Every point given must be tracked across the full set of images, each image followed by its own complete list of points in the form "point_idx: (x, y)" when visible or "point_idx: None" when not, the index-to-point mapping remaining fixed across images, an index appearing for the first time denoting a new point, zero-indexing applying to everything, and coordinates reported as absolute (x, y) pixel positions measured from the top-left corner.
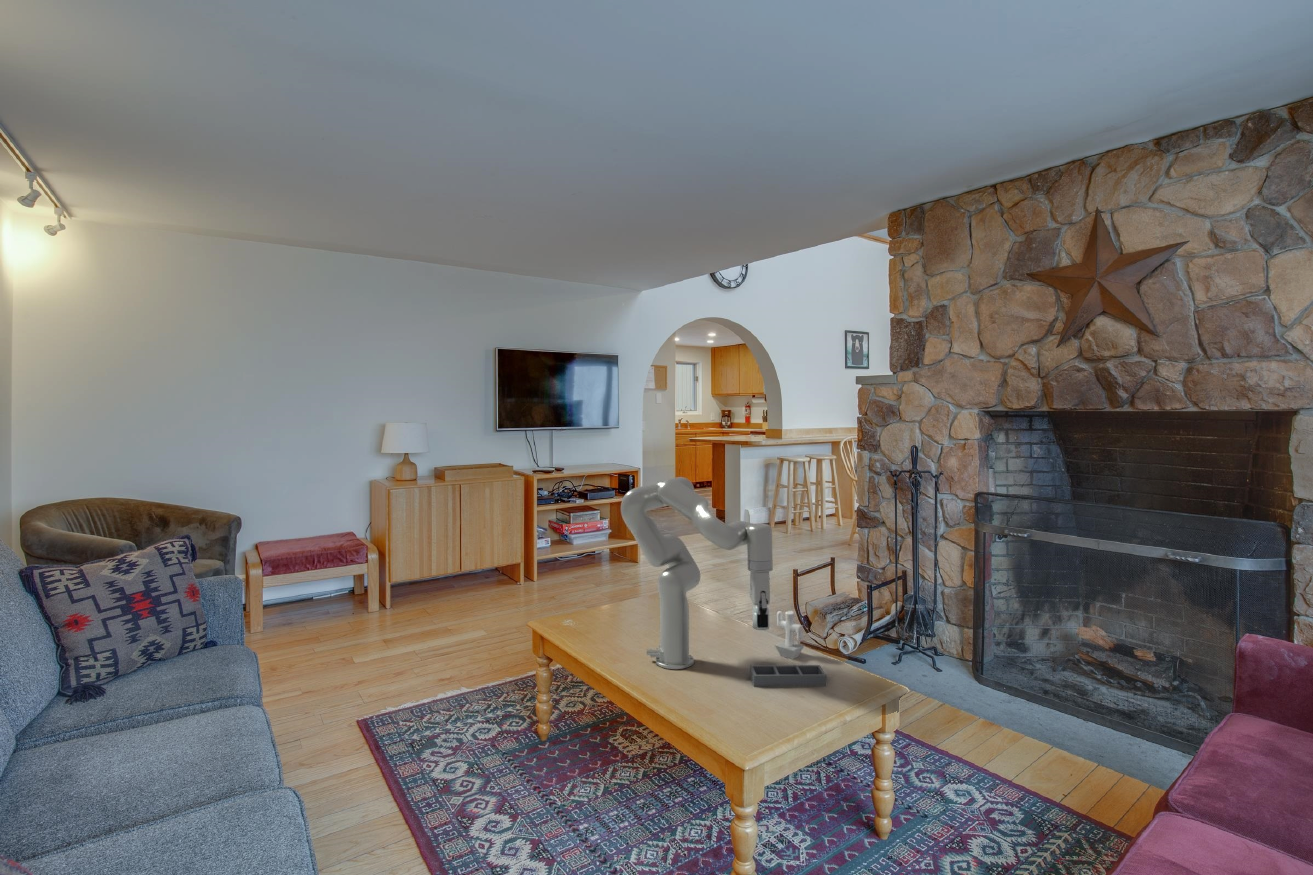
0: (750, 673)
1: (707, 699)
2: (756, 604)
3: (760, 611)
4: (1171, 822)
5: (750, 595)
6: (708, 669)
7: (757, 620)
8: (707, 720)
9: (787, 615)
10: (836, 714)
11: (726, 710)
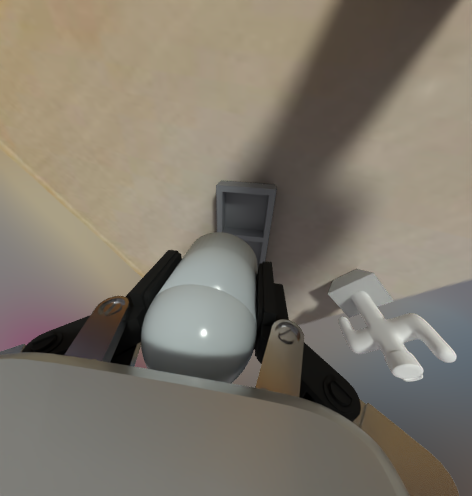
0: (268, 185)
1: (146, 31)
2: (180, 357)
3: (81, 325)
4: None
5: (260, 466)
6: (343, 62)
7: (153, 268)
8: (38, 17)
9: (399, 360)
10: (139, 271)
11: (103, 87)
